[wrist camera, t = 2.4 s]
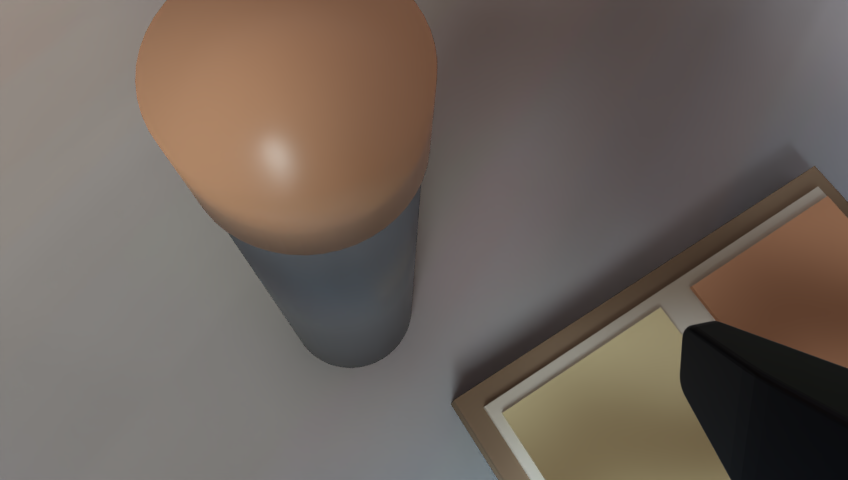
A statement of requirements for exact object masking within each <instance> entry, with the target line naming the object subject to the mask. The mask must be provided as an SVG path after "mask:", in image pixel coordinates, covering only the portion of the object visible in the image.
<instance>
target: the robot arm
mask: <svg viewBox="0 0 848 480" xmlns="http://www.w3.org/2000/svg"><path fill="white" fill-rule="evenodd" d="M680 384H681V388H682V391H683V393H684V395H685V397H686V399H687V401H688V403H689V405H690V407H691V408H692V410H693V412H694V414H695V416H696V417H697V419H698V421H699V423H700V425H701V427H702V428H703V430H704V432H705V434H706V436H707V438H708V439H709V441H710V443H711V445H712V447H713V448H714V450H715V452H716V454H717V456H718V458H719V459H720V461H721V463H722V465H723V467H724V469H725V470H726V472H727V474H728V476H729V478H730V479H731V480H848V368H846V367H843V366H840V365H838V364H835V363H832V362H829V361H827V360H824V359H821V358H818V357H816V356H813V355H810V354H807V353H805V352H802V351H799V350H796V349H793V348H791V347H788V346H785V345H782V344H780V343H777V342H774V341H771V340H769V339H766V338H763V337H760V336H758V335H755V334H752V333H749V332H747V331H744V330H741V329H738V328H736V327H733V326H730V325H727V324H725V323H722V322H719V321H709V322H704V323H699V324H694V325H690V326H688V327H687V328H686V329H685V330H684V332H683V336H682V348H681V362H680Z"/></svg>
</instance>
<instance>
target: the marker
mask: <svg viewBox="0 0 848 480" xmlns="http://www.w3.org/2000/svg"><path fill="white" fill-rule="evenodd" d="M436 82H437V56H436V48H435V43H434V40H433V37H432V33H431V30H430V28H429V26H428V23H427V21H426V19H425V17H424V15H423V13H422V12H421V10H420V9H419V7H418V6H417V4H416V3H415V1H414V0H167V1H166V2H165V3H164V4H163V6H162V7H161V8H160V10H159V11H158V13H157V14H156V15H155V17H154V18H153V20H152V22H151V24H150V26H149V27H148V29H147V31H146V33H145V36H144V38H143V41H142V44H141V46H140V50H139V54H138V59H137V64H136V79H135V83H136V92H137V100H138V103H139V107H140V111H141V114H142V117H143V119H144V121H145V123H146V126H147V128H148V130H149V132H150V133H151V135H152V136H153V138H154V139H155V141H156V142H157V144H158V145H159V147H160V148H161V150H162V151H163V152H164V154H165V155H166V157H167V158H168V159H169V161H170V162H171V164H172V165H173V167H174V168H175V169H176V171H177V172H178V174H179V175H180V176H181V178H182V179H183V181H184V182H185V184H186V185H187V186H188V188H189V189H190V191H191V192H192V193H193V195H194V196H195V198H196V199H197V200H198V202H199V203H200V205H201V206H202V208H203V209H204V210H205V212H206V213H207V214H208V215H209V216H210V217H211V218H212V219H213V220H214V222H216V223H217V224H218V225H219V226H220V227H222V228H223V229H224V230H225V231H226V232H228V233H229V235H230V236H231V238H232V239H233V241H234V242H235V244H236V245H237V247H238V248H239V250H240V251H241V253H242V254H243V256H244V257H245V259H246V260H247V261H248V263H249V264H250V266H251V267H252V269H253V270H254V272H255V273H256V275H257V276H258V278H259V279H260V281H261V282H262V284H263V285H264V287H265V288H266V290H267V291H268V292H269V294H270V295H271V297H272V298H273V300H274V301H275V303H276V304H277V306H278V307H279V309H280V310H281V312H282V313H283V315H284V316H285V318H286V319H287V321H288V322H289V323H290V325H291V326H292V328H293V329H294V331H295V332H296V334H297V335H298V337H299V338H300V340H301V341H302V343H303V344H304V346H305V347H306V348H307V349H308V350H309V351H310V352H311V353H312V354H313V355H314V356H316V357H317V358H319V359H320V360H322V361H324V362H326V363H328V364H331V365H335V366H339V367H346V368H355V367H362V366H367V365H370V364H373V363H375V362H377V361H379V360H381V359H383V358H384V357H386V356H387V355H389V354H390V353H391V352H392V351H393V350H394V349H395V348H396V347H397V346H398V344H399V343H400V342H401V340H402V339H403V337H404V335H405V333H406V331H407V329H408V326H409V322H410V317H411V307H412V294H413V281H414V268H415V255H416V242H417V229H418V215H419V202H420V189H421V183H422V181H423V178H424V175H425V172H426V169H427V165H428V159H429V154H430V144H431V134H432V123H433V113H434V103H435V92H436Z"/></svg>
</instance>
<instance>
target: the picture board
mask: <svg viewBox="0 0 848 480" xmlns="http://www.w3.org/2000/svg"><path fill="white" fill-rule="evenodd" d="M709 321H719V322H722V323H725V324H727V325H730V326H733V327H736V328H738V329H741V330H744V331H747V332H749V333H752V334H755V335H758V336H760V337H763V338H766V339H769V340H771V341H774V342H777V343H780V344H782V345H785V346H788V347H791V348H793V349H796V350H799V351H802V352H805V353H807V354H810V355H813V356H816V357H818V358H821V359H824V360H827V361H829V362H832V363H835V364H838V365H840V366H843V367H846V368H848V202H847V201H846V200H845V199H844V198H843V196H842V195H841V194H840V193H839V192H838V191H837V190H836V189H835V188H834V187H833V185H832V184H831V183H830V182H829V181H828V180H827V179H826V178H825V177H824V176H823V174H822V173H821V172H820V171H819V170H818V169H817V168H816V167H815V166H814V167H812V168H811V169H809V170H808V171H806V172H805V173H803V174H801V175H800V176H798V177H797V178H795V179H794V180H792V181H791V182H789V183H788V184H786V185H784V186H783V187H781V188H780V189H778V190H777V191H775V192H774V193H772V194H771V195H769V196H768V197H766V198H764V199H763V200H761V201H760V202H758V203H757V204H755V205H754V206H752V207H751V208H749V209H748V210H746V211H744V212H743V213H741V214H740V215H738V216H737V217H735V218H734V219H732V220H731V221H729V222H728V223H726V224H724V225H723V226H721V227H720V228H718V229H717V230H715V231H714V232H712V233H711V234H709V235H707V236H706V237H704V238H703V239H701V240H700V241H698V242H697V243H695V244H694V245H692V246H691V247H689V248H687V249H686V250H684V251H683V252H681V253H680V254H678V255H677V256H675V257H674V258H672V259H671V260H669V261H667V262H666V263H664V264H663V265H661V266H660V267H658V268H657V269H655V270H654V271H652V272H651V273H649V274H647V275H646V276H644V277H643V278H641V279H640V280H638V281H637V282H635V283H634V284H632V285H630V286H629V287H627V288H626V289H624V290H623V291H621V292H620V293H618V294H617V295H615V296H614V297H612V298H610V299H609V300H607V301H606V302H604V303H603V304H601V305H600V306H598V307H597V308H595V309H594V310H592V311H590V312H589V313H587V314H586V315H584V316H583V317H581V318H580V319H578V320H577V321H575V322H574V323H572V324H570V325H569V326H567V327H566V328H564V329H563V330H561V331H560V332H558V333H557V334H555V335H553V336H552V337H550V338H549V339H547V340H546V341H544V342H543V343H541V344H540V345H538V346H537V347H535V348H533V349H532V350H530V351H529V352H527V353H526V354H524V355H523V356H521V357H520V358H518V359H517V360H515V361H513V362H512V363H510V364H509V365H507V366H506V367H504V368H503V369H501V370H500V371H498V372H497V373H495V374H493V375H492V376H490V377H489V378H487V379H486V380H484V381H483V382H481V383H480V384H478V385H476V386H475V387H473V388H472V389H470V390H469V391H467V392H466V393H464V394H463V395H461V396H460V397H458V398H456V399H455V400H454V401H453V402H452V404H451V405H452V407H453V408H454V410H455V411H456V413H457V415H458V416H459V418H460V419H461V421H462V423H463V424H464V426H465V427H466V429H467V431H468V432H469V434H470V435H471V437H472V439H473V440H474V442H475V443H476V445H477V447H478V448H479V450H480V451H481V453H482V454H483V456H484V458H485V459H486V461H487V462H488V464H489V466H490V467H491V469H492V470H493V472H494V474H495V475H496V477H497V478H498V480H731V479H730V478H729V476H728V474H727V472H726V470H725V469H724V467H723V465H722V463H721V461H720V459H719V458H718V456H717V454H716V452H715V450H714V448H713V447H712V445H711V443H710V441H709V439H708V438H707V436H706V434H705V432H704V430H703V428H702V427H701V425H700V423H699V421H698V419H697V417H696V416H695V414H694V412H693V410H692V408H691V407H690V405H689V403H688V401H687V399H686V397H685V395H684V393H683V391H682V388H681V384H680V362H681V348H682V336H683V332H684V330H685V329H686V328H687V327H688V326H690V325H694V324H699V323H704V322H709Z"/></svg>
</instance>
